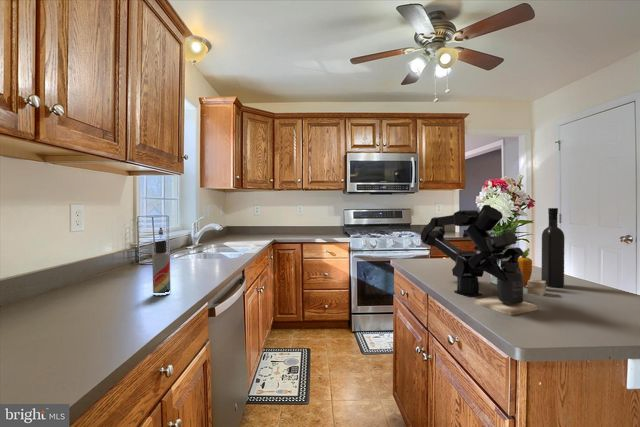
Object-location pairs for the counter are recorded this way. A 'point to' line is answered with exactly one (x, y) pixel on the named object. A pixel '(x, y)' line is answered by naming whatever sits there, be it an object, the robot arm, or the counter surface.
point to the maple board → (506, 306)
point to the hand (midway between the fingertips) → (514, 280)
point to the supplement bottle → (510, 283)
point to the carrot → (525, 266)
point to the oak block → (536, 287)
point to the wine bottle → (553, 252)
